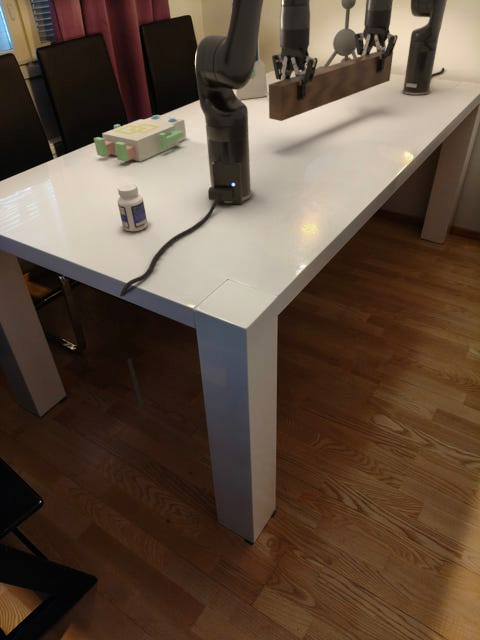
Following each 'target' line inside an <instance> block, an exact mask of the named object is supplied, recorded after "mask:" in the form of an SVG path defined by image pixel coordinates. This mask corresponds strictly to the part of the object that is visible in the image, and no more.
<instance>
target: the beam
mask: <svg viewBox="0 0 480 640" xmlns="http://www.w3.org/2000/svg"><path fill="white" fill-rule="evenodd" d="M393 55H394V51H393V52H392V55H391V56H389V57H386V58H385V63H384V69H383V70H382V72H380V73H377V64H378V59H379V58H378V52H377V51H374V52H370V54H367V55H364V56H357V58H354V59H353V58H351V60H347V61H344V62H341V61H340V62H341V63H340V62H338V63H334V64H331V65H329V66H328V67H324V66H323V67H324V68H321V69H318V70H315V73H314V77H313V81H312V82H309V83H307V84H306V96H305V97H304V99H303V100H298V81H297V77H296V76H295V75H294V76H292V77H290V78H288V79H285V80H282V81H281V80H278V81H275V82H272V83H269V84H268V118H269V119H271V120H275V121H279V122H283V121H285V120H288V119H291V118H294V117H296V116H299V115H301V114H304V113H307V112H309V111H312V110H315V109H317V108H321V107H323V106H326V105H328V104H331V103H333V102H336V101H339V100H341V99H345V98H347V97H351V96H353V95H355V94H357V93H360V92H363V91H366V90H369V89H371V88H373V87H376V86H379V85H381V84H385V83H388V82H390V80H391V72H392V65H393V64H392V63H393ZM301 77H302V76H301Z"/></svg>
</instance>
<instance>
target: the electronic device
mask: <svg viewBox="0 0 480 640" xmlns="http://www.w3.org/2000/svg"><path fill="white" fill-rule="evenodd" d="M260 49H261V48H260V33H259V34H258V43H257V51H256V59H255V65H254V69H253V72H252V75H251V78H250V80H249V82H248V83H247V84H246V86H245V87H243V88H242V89H238V90H234V89H233V92H234V94H235V95H236V97H237V98H238V99H239V100H240V101H241V100H247V99H255V98H256V99H257V98H265V97H266V96H267V94H269V91H268V84H267V83H268V82H267V75H266V74H267V73H266V66H265V62H264V61H263V60H262V59H261V56H260V52H261V50H260Z"/></svg>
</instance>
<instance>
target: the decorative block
mask: <svg viewBox="0 0 480 640" xmlns="http://www.w3.org/2000/svg"><path fill="white" fill-rule="evenodd" d="M186 133H187V132H186V124H185V119H183V118H177V117H170V116H166V115H160V114H155V115H152V116H151V117H148V118H145V119H141V118H140V119H137V120H134V121H132V122H129V123H127V124H123V125H122V126H121V124H119V123H116V124H113V129H110V130H108V131H105V132H102V133H101V135H102V137H100V136H97V137H93V142H94V145H95V150H96V155H97V156H99V157H107V156H109V155H111V156H116V158H117V160H118V161H120V162H128V161H130V160H132V161H137V162H143V161H145V160H147V159H149V158H152V157H155V156H156V155H158V154H161V153H163V152H165V151H167V150H170V149H172V148H175V147H176V146H178V143H180V142H182V141H185V140H186V139H187V134H186Z"/></svg>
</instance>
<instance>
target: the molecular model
mask: <svg viewBox="0 0 480 640" xmlns="http://www.w3.org/2000/svg"><path fill="white" fill-rule="evenodd" d="M340 2H341V6H342V8H343V9H344V10H345V20H344V28H342V29H340V30H339V31H338V32H337V33H336V34H335V36H334V38H333V42H332V47H333V50H334V51H333V52H332V54H330V57H329V58H328V60H326V62H325V63H324V65H320V66H316V69H315V70H318V69H321V68H324V67H328V66H330V64H331V63H332V62H333V61H334V59H335V57H336V56H337V55H338V56H341V57H343V58H342V59H341V60H340V62H339V63H341V62H344V61H347V60H351V59H354V58H357V57H358V55H357V53H356V50H357V49H356V41H355V34H357V33H356V32H355V31H354V30H353V29H351V28H350V27H349V26H350V15H351V13H350V12H351V9H353V8H354V7H355V5H356V3H357V0H341V1H340ZM350 55H351V56H352V58H351V57H349V56H350Z"/></svg>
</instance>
